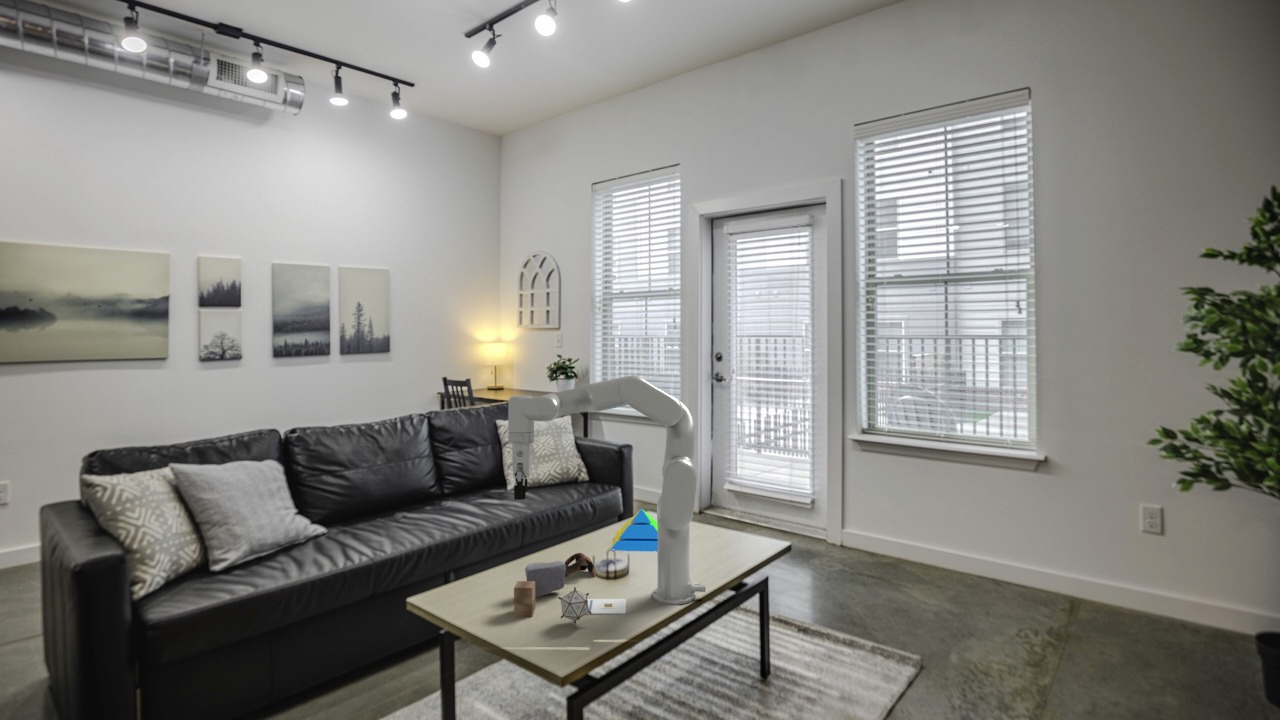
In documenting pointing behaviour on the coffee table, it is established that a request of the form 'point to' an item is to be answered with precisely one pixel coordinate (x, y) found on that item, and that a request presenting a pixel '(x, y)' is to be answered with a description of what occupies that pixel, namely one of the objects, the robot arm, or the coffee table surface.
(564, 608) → the game die
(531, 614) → the walnut block
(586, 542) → the coffee table surface
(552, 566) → the stone block
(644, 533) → the pyramid toy
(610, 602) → the white picture card
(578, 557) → the brown arched sculpture
